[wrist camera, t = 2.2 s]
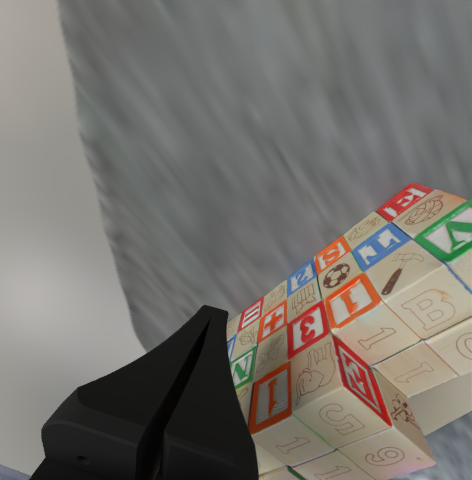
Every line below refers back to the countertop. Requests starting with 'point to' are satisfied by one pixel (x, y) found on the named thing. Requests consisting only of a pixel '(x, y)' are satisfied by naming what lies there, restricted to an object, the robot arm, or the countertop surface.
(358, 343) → the stack of blocks
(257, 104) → the countertop surface
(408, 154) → the countertop surface
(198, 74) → the countertop surface
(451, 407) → the mat
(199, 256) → the countertop surface
